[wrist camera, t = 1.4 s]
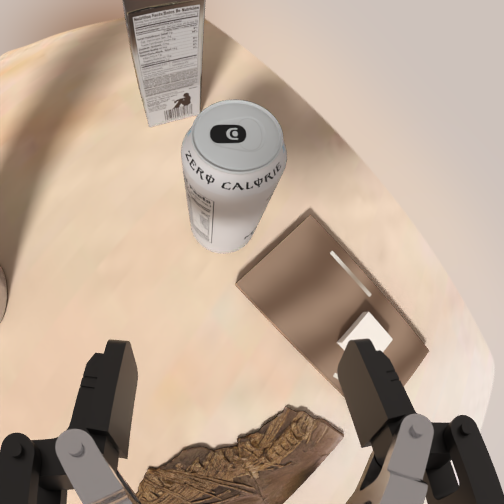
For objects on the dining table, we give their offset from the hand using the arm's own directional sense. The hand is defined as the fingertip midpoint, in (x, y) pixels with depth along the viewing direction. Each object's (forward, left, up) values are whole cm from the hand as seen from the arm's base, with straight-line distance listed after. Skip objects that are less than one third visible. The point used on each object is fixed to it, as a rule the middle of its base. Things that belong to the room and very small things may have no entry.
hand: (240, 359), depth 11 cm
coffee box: (-25, +13, -17) cm, 33 cm away
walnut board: (+7, +9, -17) cm, 21 cm away
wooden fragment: (+11, -11, -17) cm, 23 cm away
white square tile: (+10, +9, -16) cm, 21 cm away
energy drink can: (-8, +7, -17) cm, 20 cm away
